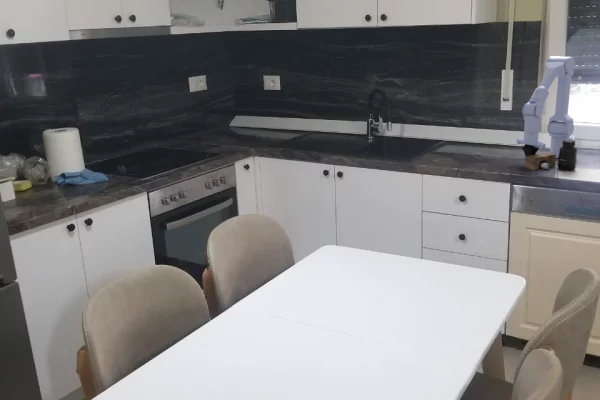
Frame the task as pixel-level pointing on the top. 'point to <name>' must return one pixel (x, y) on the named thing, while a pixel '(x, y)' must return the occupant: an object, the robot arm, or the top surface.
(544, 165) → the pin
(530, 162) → the block
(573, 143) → the supplement bottle
